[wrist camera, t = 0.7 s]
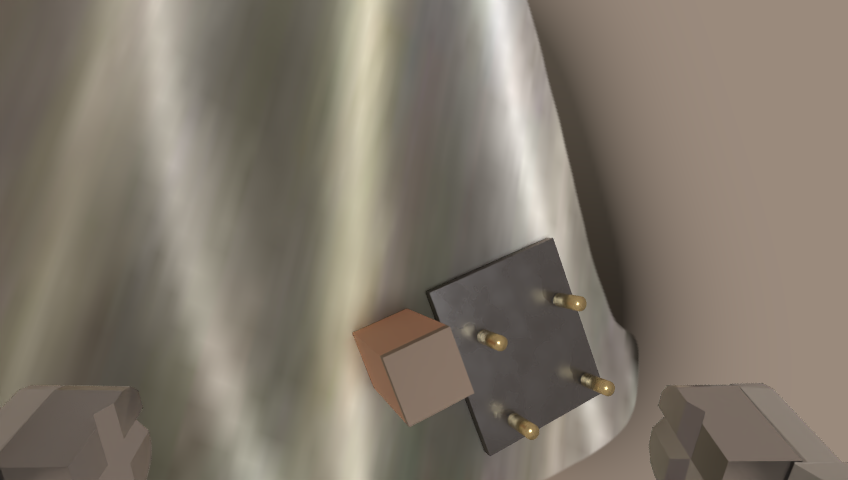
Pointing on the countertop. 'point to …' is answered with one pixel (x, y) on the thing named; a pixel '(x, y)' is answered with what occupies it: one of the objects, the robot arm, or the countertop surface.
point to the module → (413, 364)
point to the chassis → (519, 343)
